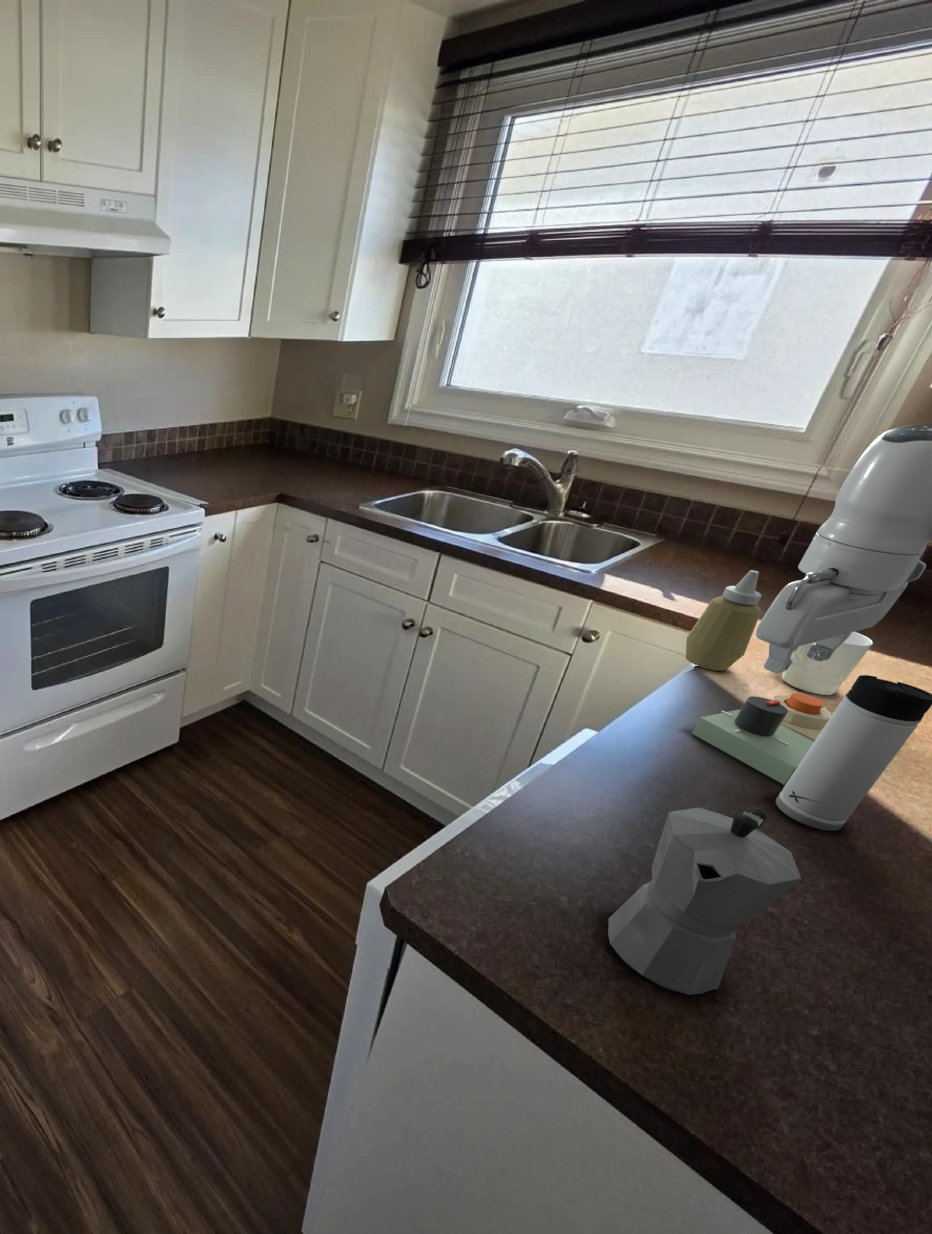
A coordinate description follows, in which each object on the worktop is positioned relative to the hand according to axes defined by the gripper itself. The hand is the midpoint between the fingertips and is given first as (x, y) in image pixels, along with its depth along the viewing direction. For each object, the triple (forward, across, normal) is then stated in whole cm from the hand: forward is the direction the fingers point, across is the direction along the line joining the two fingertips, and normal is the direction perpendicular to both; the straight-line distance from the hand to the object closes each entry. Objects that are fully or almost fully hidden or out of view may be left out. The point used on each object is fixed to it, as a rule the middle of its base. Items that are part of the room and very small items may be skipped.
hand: (795, 664), depth 87 cm
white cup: (+17, +39, +10) cm, 44 cm away
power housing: (+17, +20, +2) cm, 26 cm away
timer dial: (+14, +8, +3) cm, 16 cm away
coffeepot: (+17, -42, -16) cm, 47 cm away
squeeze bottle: (+17, +30, +21) cm, 40 cm away
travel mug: (+17, -2, -9) cm, 20 cm away
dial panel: (+17, +8, +1) cm, 19 cm away
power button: (+13, +20, +3) cm, 24 cm away
